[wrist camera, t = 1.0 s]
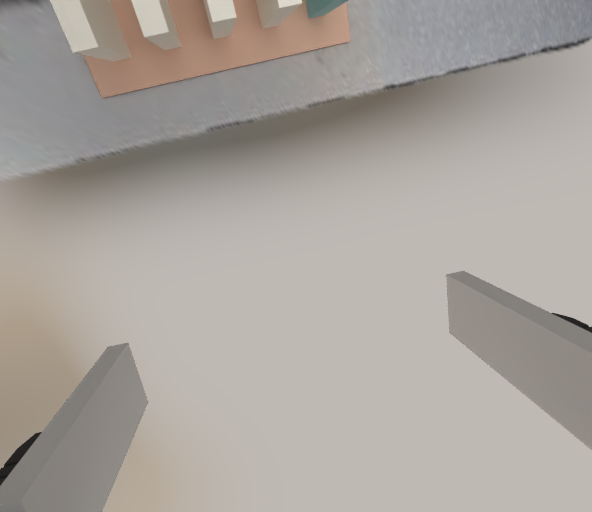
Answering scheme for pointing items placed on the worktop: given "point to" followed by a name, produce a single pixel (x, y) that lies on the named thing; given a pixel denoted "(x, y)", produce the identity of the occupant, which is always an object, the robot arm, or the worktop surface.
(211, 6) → the domino
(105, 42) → the domino
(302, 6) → the mat
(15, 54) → the worktop surface
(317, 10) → the domino
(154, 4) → the domino
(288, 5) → the domino
